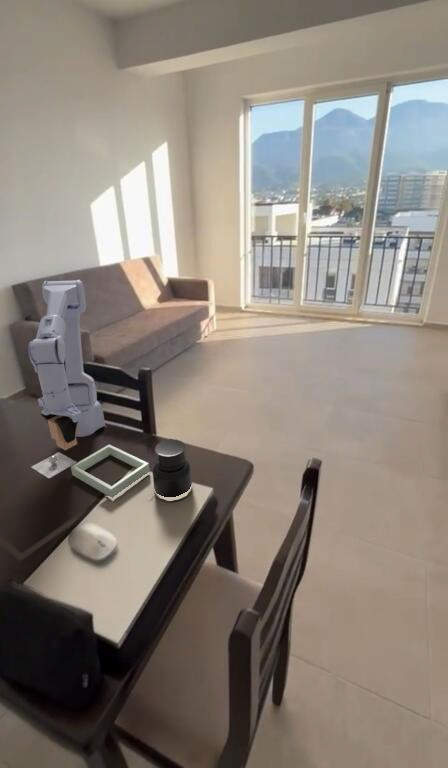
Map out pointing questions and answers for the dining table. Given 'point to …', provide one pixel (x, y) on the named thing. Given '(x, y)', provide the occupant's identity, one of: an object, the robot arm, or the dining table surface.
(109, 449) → the parts bin
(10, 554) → the dining table surface
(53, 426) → the light orange block
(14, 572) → the dining table surface
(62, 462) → the stud plate
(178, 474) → the ink bottle
